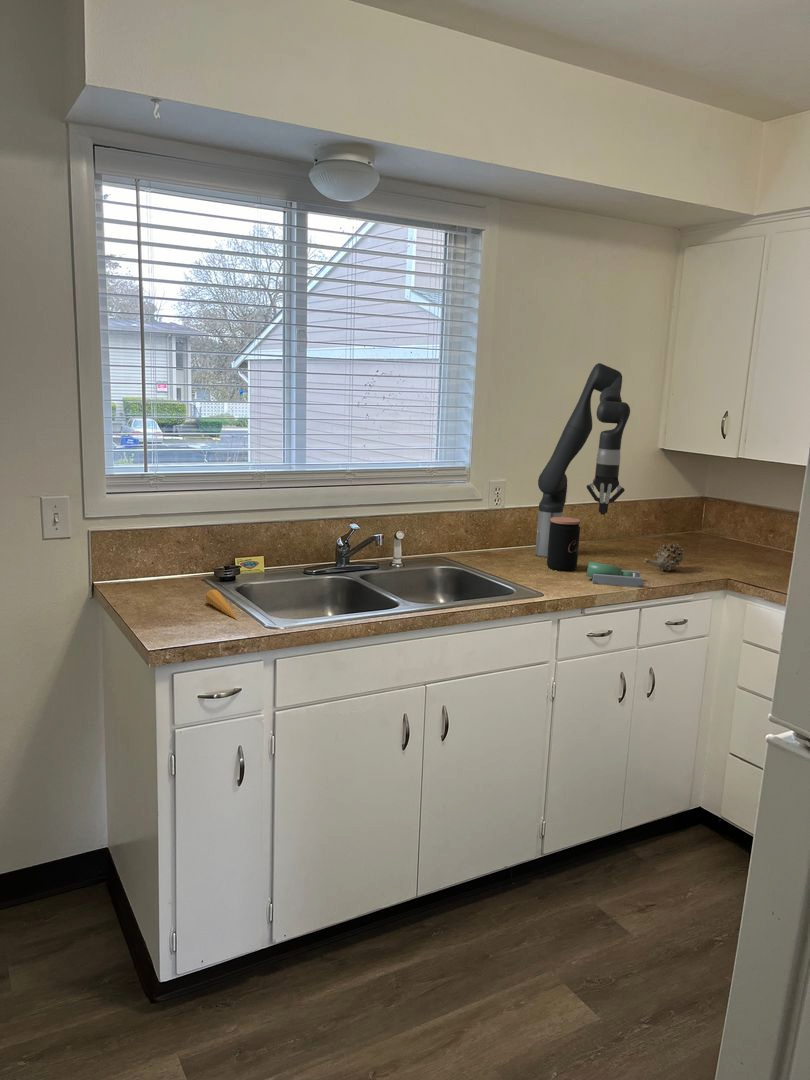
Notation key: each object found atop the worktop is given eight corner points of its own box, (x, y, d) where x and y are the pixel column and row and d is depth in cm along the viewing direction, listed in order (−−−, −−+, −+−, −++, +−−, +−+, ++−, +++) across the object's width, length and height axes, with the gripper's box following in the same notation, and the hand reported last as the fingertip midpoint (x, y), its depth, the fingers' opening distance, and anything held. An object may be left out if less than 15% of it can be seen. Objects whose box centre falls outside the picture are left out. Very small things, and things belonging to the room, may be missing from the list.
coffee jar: (570, 573, 288) (574, 523, 285) (541, 568, 294) (545, 519, 290) (580, 568, 297) (585, 519, 294) (553, 563, 303) (556, 515, 299)
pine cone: (664, 565, 309) (667, 539, 307) (688, 569, 302) (691, 543, 300) (634, 573, 293) (637, 545, 291) (659, 578, 287) (662, 550, 285)
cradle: (592, 583, 275) (593, 575, 275) (591, 576, 286) (591, 567, 285) (642, 587, 273) (643, 578, 272) (638, 579, 283) (639, 571, 283)
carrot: (206, 605, 235) (201, 591, 233) (221, 597, 237) (215, 584, 235) (232, 631, 219) (227, 617, 217) (247, 623, 221) (242, 609, 219)
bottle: (589, 563, 277) (637, 572, 275) (589, 559, 282) (635, 568, 280) (586, 577, 278) (633, 586, 276) (586, 574, 283) (632, 583, 281)
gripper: (588, 462, 270) (582, 514, 273) (629, 465, 267) (623, 517, 271) (587, 460, 277) (582, 510, 280) (627, 463, 275) (622, 514, 278)
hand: (602, 514), depth 276 cm, fingers closed
